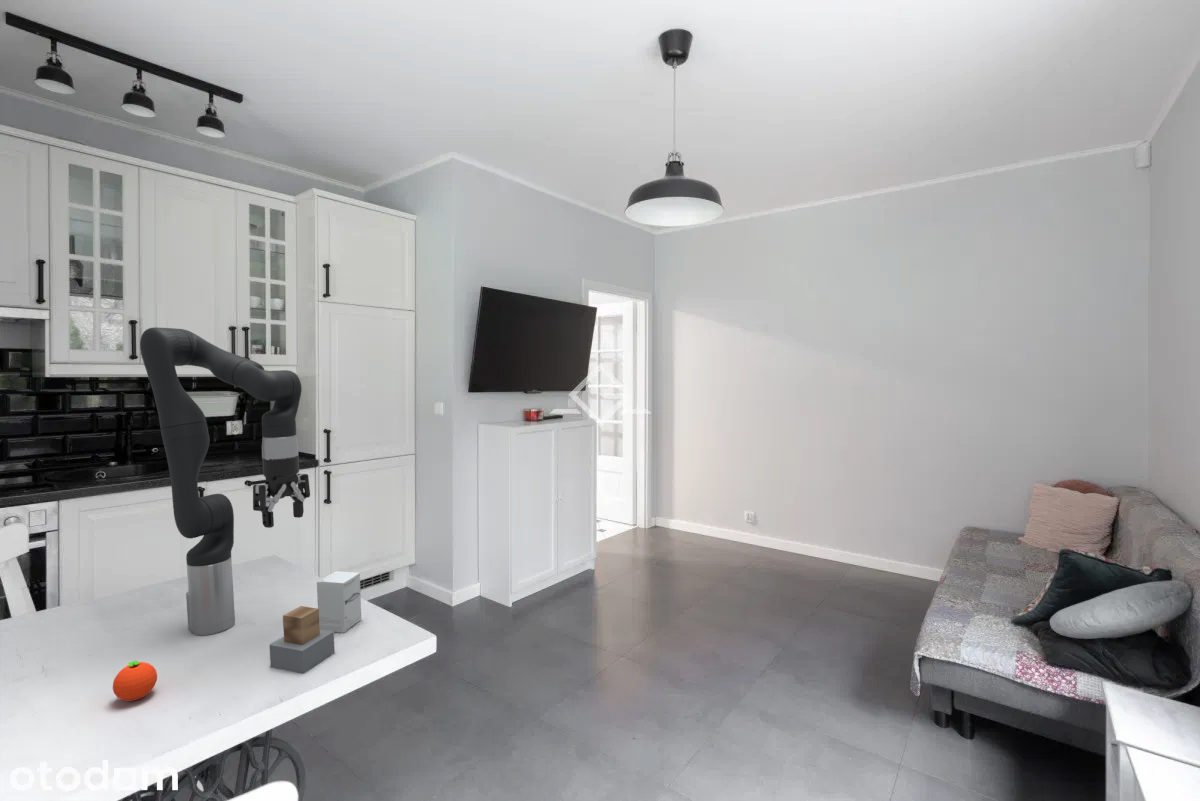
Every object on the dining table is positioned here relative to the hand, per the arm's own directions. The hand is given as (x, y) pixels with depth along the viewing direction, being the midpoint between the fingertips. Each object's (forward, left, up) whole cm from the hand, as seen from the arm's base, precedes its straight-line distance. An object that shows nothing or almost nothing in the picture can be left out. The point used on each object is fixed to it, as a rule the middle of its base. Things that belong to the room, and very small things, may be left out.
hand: (283, 522), depth 138 cm
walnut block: (+12, -8, -23) cm, 27 cm away
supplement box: (+8, +8, -28) cm, 30 cm away
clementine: (-9, -29, -28) cm, 42 cm away
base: (+12, -8, -28) cm, 32 cm away
